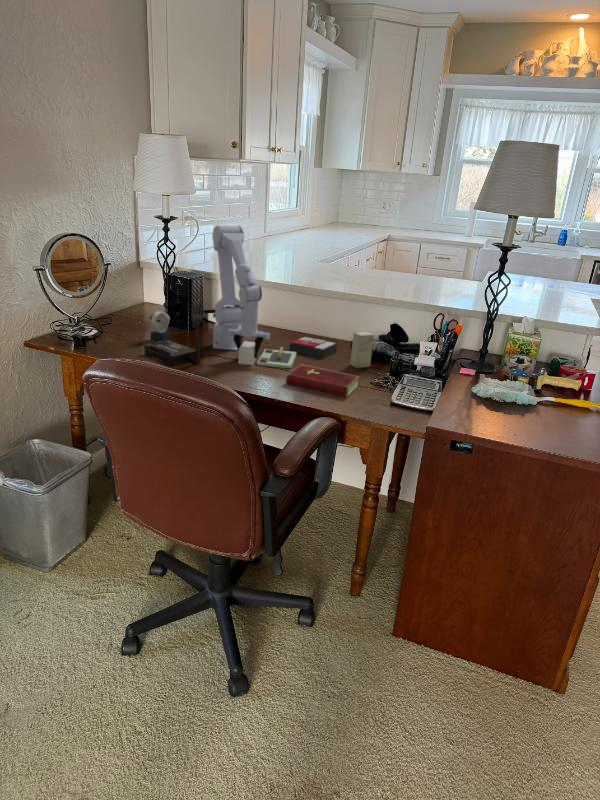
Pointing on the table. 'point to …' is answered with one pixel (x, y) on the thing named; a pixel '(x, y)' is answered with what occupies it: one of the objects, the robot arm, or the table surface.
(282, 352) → the pcb board
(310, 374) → the hardcover book
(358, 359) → the skincare box
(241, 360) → the block
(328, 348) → the calculator
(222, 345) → the robot arm
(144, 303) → the table surface
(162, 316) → the watch
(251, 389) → the table surface
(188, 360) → the grey and black stand
